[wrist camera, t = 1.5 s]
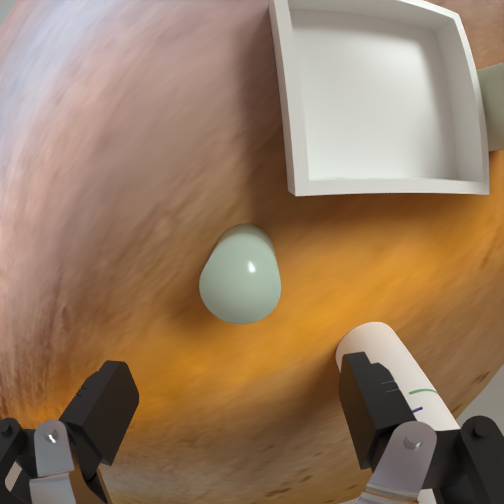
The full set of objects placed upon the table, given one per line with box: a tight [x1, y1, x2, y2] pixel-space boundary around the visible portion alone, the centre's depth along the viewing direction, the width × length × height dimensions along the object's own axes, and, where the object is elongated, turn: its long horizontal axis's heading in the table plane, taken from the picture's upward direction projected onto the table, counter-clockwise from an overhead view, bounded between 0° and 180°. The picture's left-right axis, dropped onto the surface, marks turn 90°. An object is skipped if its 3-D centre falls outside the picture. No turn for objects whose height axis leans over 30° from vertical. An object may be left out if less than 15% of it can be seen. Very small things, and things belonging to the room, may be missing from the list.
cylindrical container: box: [336, 322, 460, 504], centre depth 16 cm, size 7×7×25 cm
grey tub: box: [268, 0, 489, 196], centre depth 18 cm, size 18×18×5 cm
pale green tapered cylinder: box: [199, 224, 281, 324], centre depth 21 cm, size 5×5×8 cm
